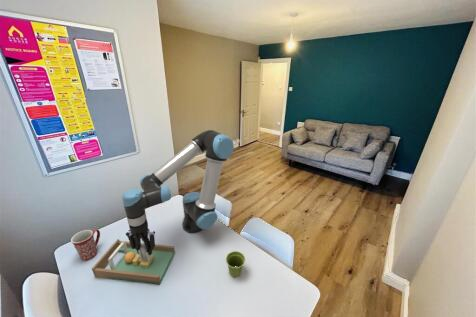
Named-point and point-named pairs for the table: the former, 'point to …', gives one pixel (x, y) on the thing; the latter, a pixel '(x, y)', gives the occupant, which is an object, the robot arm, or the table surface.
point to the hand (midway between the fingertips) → (146, 258)
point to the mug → (86, 243)
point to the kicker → (144, 262)
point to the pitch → (130, 271)
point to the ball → (129, 257)
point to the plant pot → (235, 263)
